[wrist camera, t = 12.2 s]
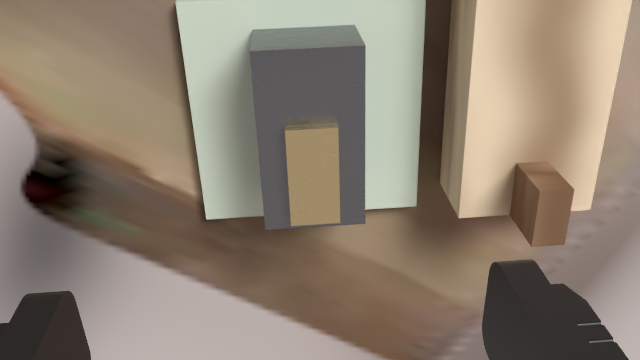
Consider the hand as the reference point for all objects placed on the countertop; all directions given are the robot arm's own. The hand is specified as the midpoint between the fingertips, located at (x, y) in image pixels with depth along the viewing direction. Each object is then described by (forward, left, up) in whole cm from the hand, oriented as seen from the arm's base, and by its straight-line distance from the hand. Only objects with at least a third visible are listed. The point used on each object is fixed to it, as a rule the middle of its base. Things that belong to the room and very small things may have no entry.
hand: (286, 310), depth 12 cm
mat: (+1, -4, -21) cm, 21 cm away
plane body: (+12, +1, -21) cm, 24 cm away
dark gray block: (+1, -4, -20) cm, 21 cm away
